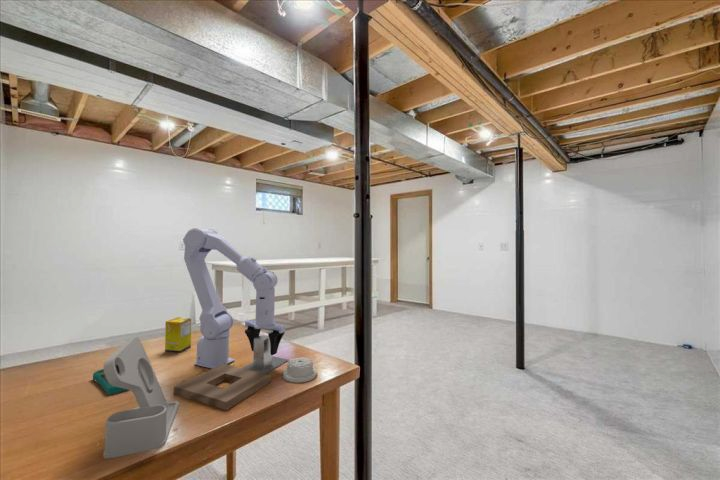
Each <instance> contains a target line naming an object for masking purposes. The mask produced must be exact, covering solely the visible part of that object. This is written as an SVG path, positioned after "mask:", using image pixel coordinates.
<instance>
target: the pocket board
mask: <svg viewBox="0 0 720 480" xmlns="http://www.w3.org/2000/svg"><path fill="white" fill-rule="evenodd" d="M224 381H226V382H229V383H230V384H229V385H227V386H225V387H221V386H218V385H219V384H221V383H223V382H224ZM269 383H271V374H268V373H267V374H264V373H260V372H256V371H252V370H247V369H243V367H239V366H234V365H229V364H222V365H219V366H217V367H215V368H213V369H211V368H210V369H208V370H207V371H204V372H203V373H200V374H198V375H196V376H194V377H191V378H188V379H187V380H185V381H183V382H181V383H179V384H177V385H174V386H173V395H176V396H179V397H182V398H185V399H188V400H191V401H195V402H198V403H202V404H204V405H208V406H209V407H210V406H211V407H214V408H217V409H220V410H224V411H227V410H230V409H231V408H232V407H233V406H235V405H237V404H238V403H240V402H241V401H243V400H244V399H246V398H248V397H249V396H251V395H252V394H254V393H255V392H257V391H258V390H260V389H261V388H263V387H265V386H266V385H268V384H269Z"/></svg>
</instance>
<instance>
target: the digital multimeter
mask: <svg viewBox="0 0 720 480" xmlns="http://www.w3.org/2000/svg"><path fill="white" fill-rule="evenodd" d="M93 379H94V380H96V381H97V382H98V383H99V384H100V385H101V386H102V387H101V386H100V385H99V384H98V383H97V382H96V383H97V384H98V385H99V386H100V387H101V388H102V389H103V390H104V391H105V393H106V394H107V395H108V396H111V394H112V395H116V394H120V393H123V392H126V390H127V389H123V388H120V387H116V386H112V385H110V384H109V382H108V381H107V378H106V376H105V373H104V368H103V369H98V370H96V371H94V372H93V373H92V380H93ZM94 380H93V381H94ZM122 391H123V392H122ZM127 391H128V390H127ZM119 392H120V393H119ZM115 393H116V394H115Z"/></svg>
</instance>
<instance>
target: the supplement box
mask: <svg viewBox="0 0 720 480" xmlns="http://www.w3.org/2000/svg"><path fill="white" fill-rule="evenodd" d="M164 332H165V335H164V336H165V337H164V338H165V339H164V341H165V342H164V347H165V349H164V352H165V353H176V354H180V353H182V352H184V351H186V350H188V349H190V348H192V317H179V316H178V317H175V318H171V319H169V320H166V321H165V331H164Z"/></svg>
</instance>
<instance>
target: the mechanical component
mask: <svg viewBox="0 0 720 480" xmlns="http://www.w3.org/2000/svg"><path fill="white" fill-rule="evenodd" d="M288 360H289V361H287V365H286V366H287V367H285V369H284V370H283V371H282V378H283V380H285V381H287V382H290V383H295V384H297V383H298V384H299V383H300V384H301V383H307V382H309V381H311V380H314V379H315V378H316V377H317V373H318V370H317V368H316V367H314V361H313V359H309V358H308V357H305V356H304V357H303V356H301V357H295V358H292V359H291V358H290V359H288Z"/></svg>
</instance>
